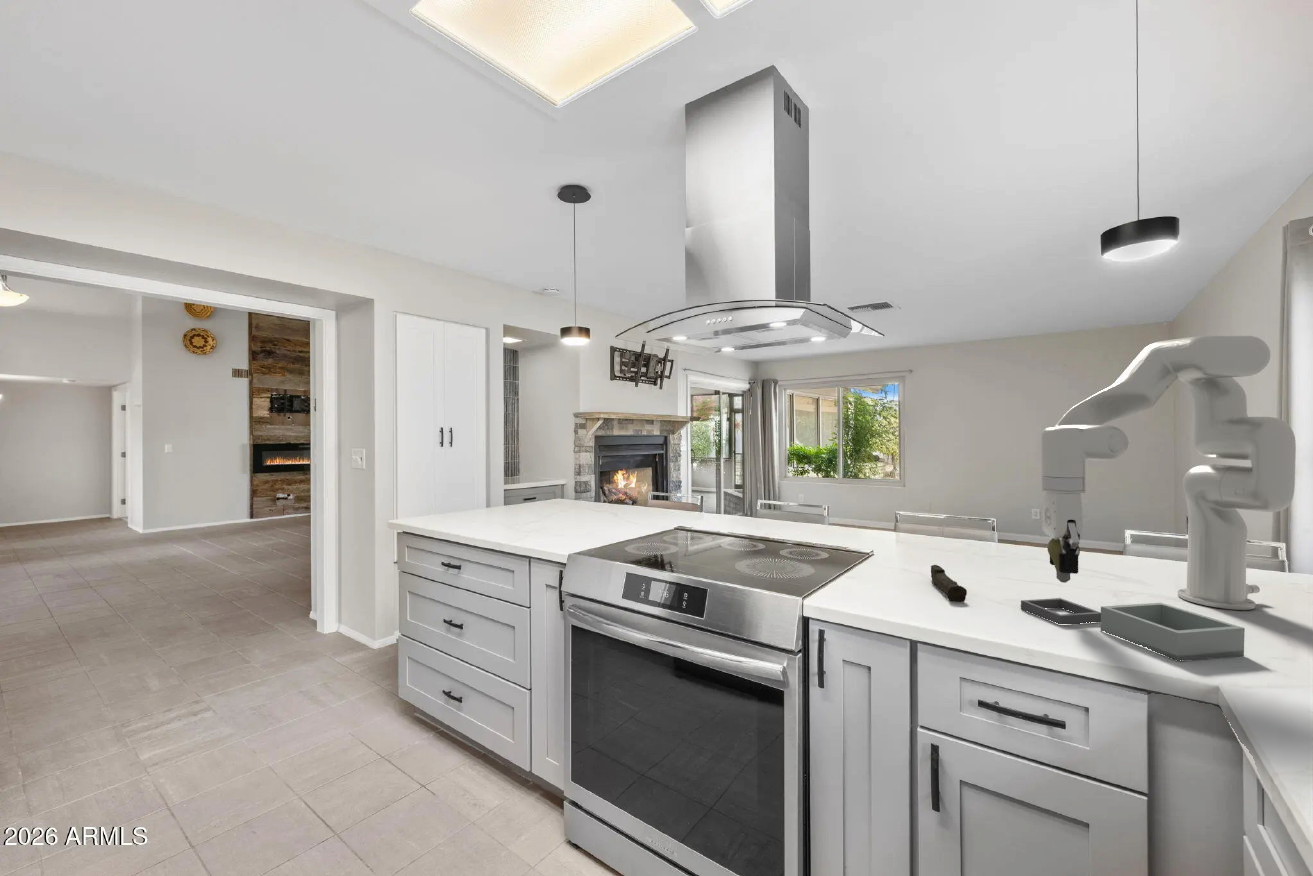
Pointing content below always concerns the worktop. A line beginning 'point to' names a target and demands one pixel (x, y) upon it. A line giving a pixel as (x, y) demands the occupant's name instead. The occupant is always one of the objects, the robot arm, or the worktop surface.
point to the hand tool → (947, 584)
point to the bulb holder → (1079, 617)
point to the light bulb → (1054, 554)
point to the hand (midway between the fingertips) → (1063, 568)
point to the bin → (1173, 631)
